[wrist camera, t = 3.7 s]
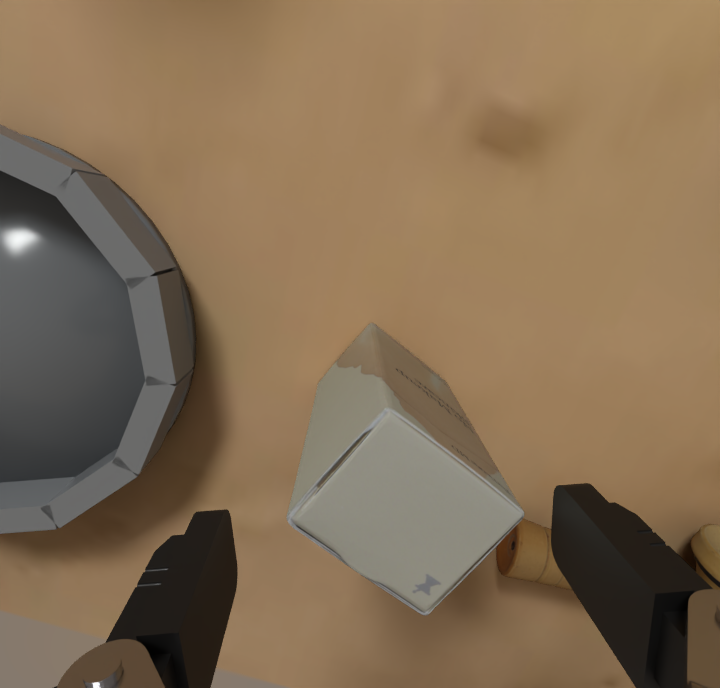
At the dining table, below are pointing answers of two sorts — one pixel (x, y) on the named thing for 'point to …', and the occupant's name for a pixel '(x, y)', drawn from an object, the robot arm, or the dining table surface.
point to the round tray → (81, 336)
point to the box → (398, 475)
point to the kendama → (536, 563)
